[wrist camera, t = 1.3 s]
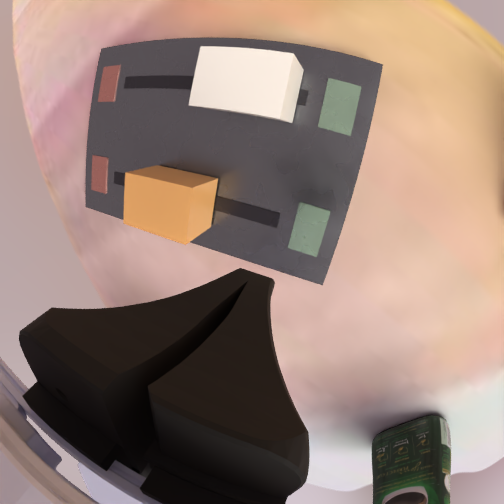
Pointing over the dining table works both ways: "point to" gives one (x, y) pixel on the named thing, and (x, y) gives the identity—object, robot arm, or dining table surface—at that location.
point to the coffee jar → (413, 463)
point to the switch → (247, 81)
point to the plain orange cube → (169, 202)
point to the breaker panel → (237, 147)
